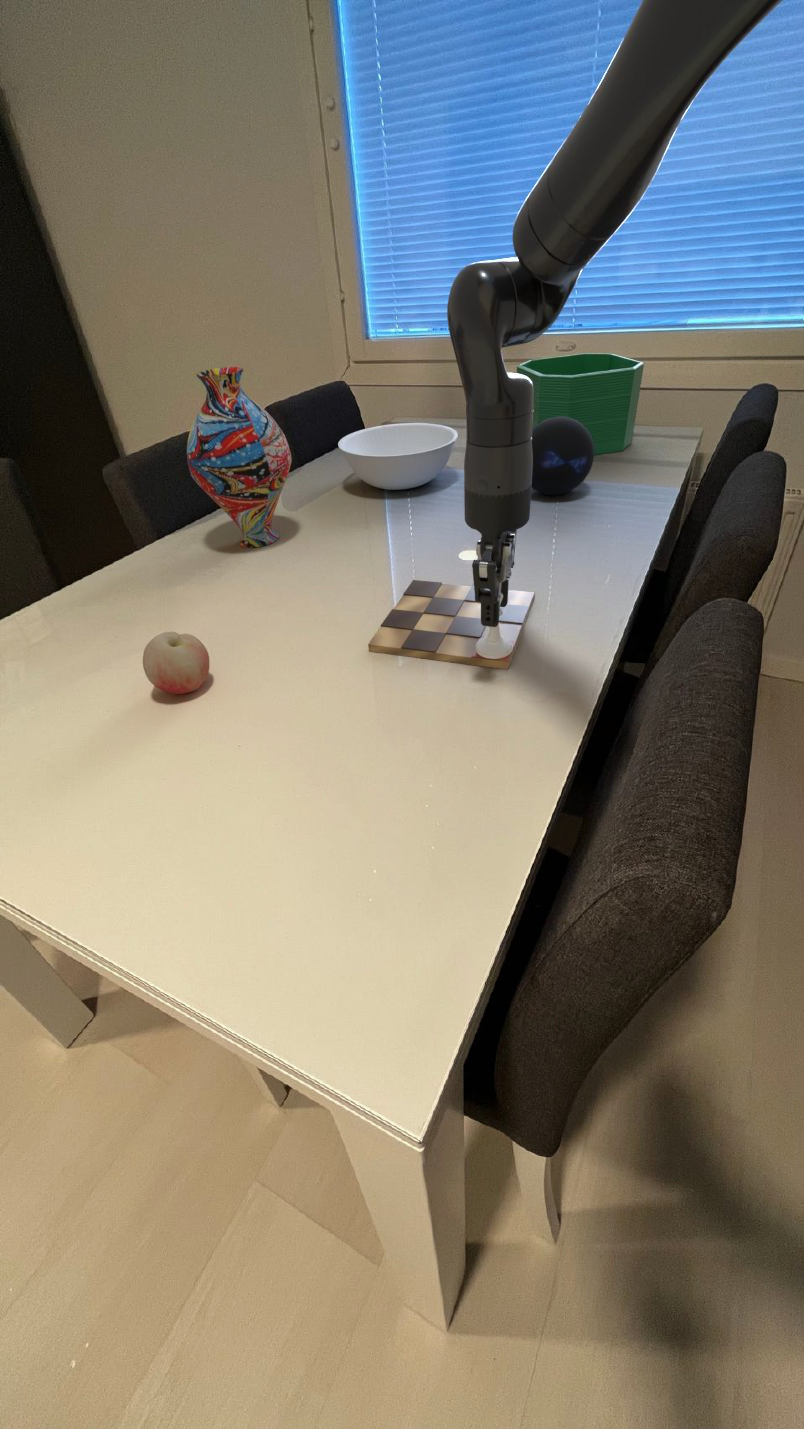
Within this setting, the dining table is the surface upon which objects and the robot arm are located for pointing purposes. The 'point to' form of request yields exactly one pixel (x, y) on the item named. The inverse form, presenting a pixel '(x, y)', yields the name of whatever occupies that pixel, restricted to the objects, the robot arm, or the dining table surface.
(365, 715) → the dining table surface
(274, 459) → the vase
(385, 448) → the bowl
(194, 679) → the fruit
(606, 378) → the planter
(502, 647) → the chess piece
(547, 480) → the decorative sphere
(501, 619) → the game board
